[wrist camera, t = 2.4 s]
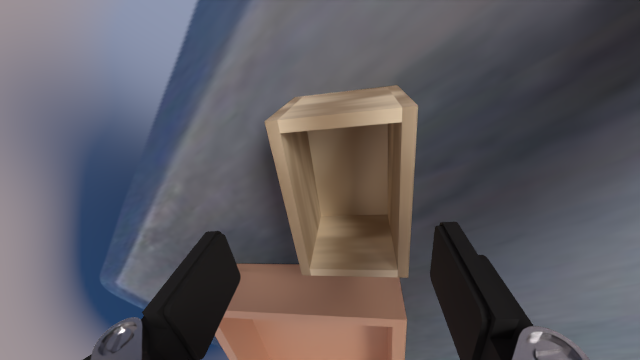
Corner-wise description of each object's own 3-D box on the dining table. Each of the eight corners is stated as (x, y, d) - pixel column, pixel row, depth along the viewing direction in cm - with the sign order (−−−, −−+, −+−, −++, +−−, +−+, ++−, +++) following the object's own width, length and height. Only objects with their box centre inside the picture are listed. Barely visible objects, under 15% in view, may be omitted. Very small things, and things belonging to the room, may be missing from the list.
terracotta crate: (397, 265, 22) (406, 319, 17) (394, 370, 31) (400, 423, 26) (226, 263, 25) (199, 309, 21) (269, 358, 34) (256, 405, 29)
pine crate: (396, 84, 15) (418, 105, 10) (394, 215, 19) (408, 277, 14) (294, 97, 16) (264, 121, 11) (315, 217, 21) (301, 275, 15)
